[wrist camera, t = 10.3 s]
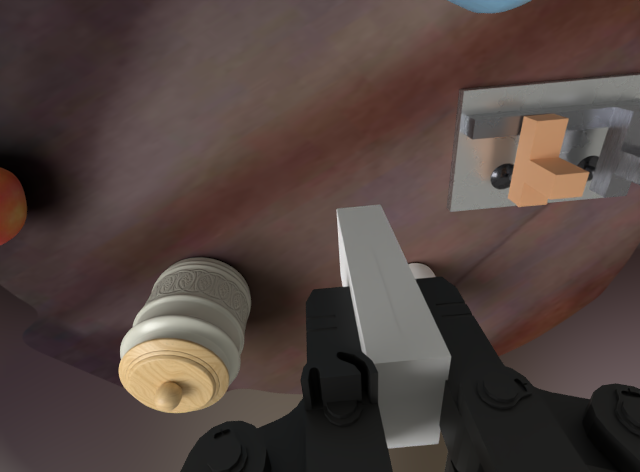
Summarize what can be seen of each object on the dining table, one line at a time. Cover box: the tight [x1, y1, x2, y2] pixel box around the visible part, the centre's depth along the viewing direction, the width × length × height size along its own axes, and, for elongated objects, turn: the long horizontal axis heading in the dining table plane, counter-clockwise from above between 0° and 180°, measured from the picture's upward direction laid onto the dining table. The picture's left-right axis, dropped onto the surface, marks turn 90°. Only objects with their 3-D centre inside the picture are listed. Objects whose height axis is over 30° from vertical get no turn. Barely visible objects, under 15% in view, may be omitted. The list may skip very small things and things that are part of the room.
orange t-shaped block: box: [508, 114, 589, 207], centre depth 36 cm, size 9×3×9 cm, turn 5°
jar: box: [119, 257, 251, 413], centre depth 42 cm, size 13×13×18 cm
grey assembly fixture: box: [447, 73, 640, 212], centre depth 37 cm, size 14×20×10 cm
